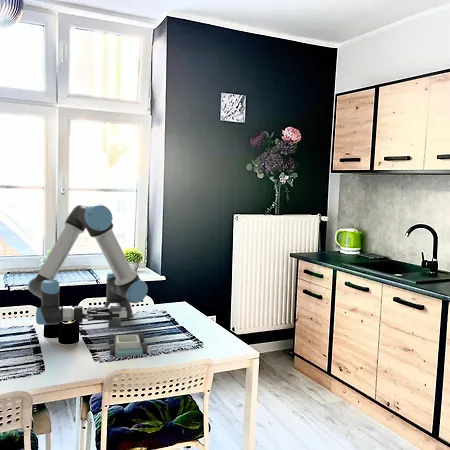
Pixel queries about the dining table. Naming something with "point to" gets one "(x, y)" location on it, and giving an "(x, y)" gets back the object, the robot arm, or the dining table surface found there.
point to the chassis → (127, 345)
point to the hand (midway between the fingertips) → (126, 312)
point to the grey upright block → (115, 321)
